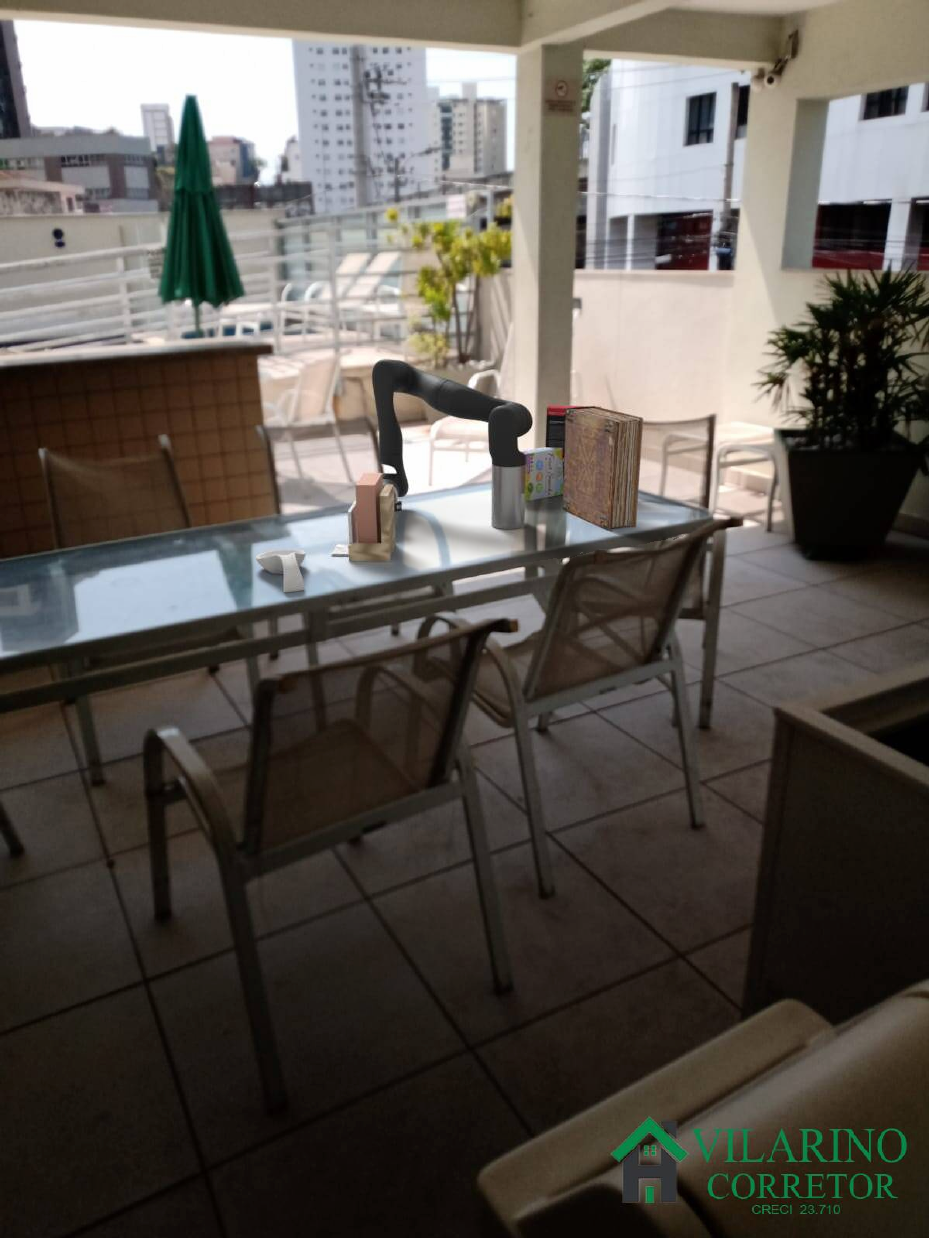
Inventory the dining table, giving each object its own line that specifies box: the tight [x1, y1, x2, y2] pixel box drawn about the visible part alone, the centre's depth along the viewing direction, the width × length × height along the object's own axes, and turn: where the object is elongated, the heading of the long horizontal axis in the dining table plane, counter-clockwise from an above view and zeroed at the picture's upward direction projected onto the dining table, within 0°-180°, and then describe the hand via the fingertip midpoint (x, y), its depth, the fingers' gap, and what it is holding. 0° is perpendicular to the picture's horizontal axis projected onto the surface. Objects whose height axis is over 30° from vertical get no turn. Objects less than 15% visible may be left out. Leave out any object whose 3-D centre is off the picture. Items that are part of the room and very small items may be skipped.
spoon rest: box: [255, 548, 306, 593], centre depth 209 cm, size 24×12×7 cm, turn 21°
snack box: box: [519, 446, 563, 503], centre depth 278 cm, size 21×6×15 cm, turn 127°
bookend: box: [331, 499, 358, 557], centre depth 226 cm, size 6×12×12 cm, turn 178°
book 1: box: [354, 472, 383, 543], centre depth 228 cm, size 5×14×18 cm, turn 177°
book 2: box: [562, 405, 644, 532], centre depth 252 cm, size 25×9×30 cm, turn 24°
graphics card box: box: [544, 404, 602, 485], centre depth 281 cm, size 17×7×27 cm, turn 82°
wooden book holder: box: [347, 485, 397, 562], centre depth 224 cm, size 10×14×16 cm
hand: (374, 513), depth 236 cm, fingers closed
